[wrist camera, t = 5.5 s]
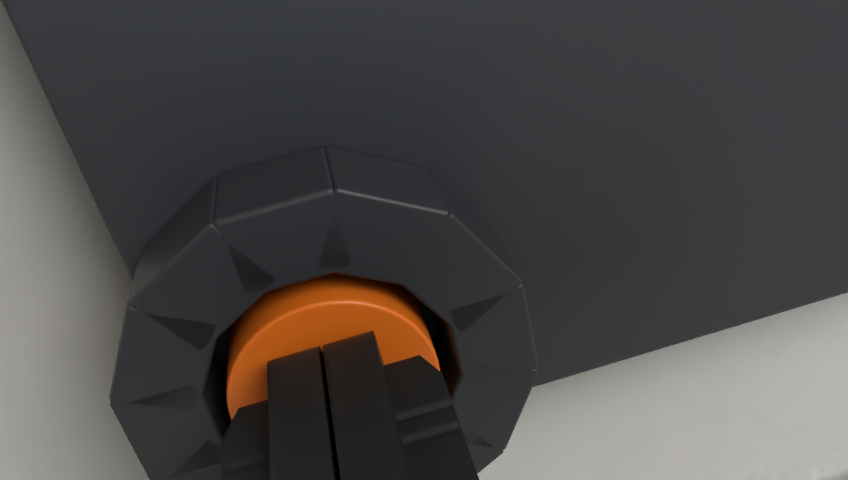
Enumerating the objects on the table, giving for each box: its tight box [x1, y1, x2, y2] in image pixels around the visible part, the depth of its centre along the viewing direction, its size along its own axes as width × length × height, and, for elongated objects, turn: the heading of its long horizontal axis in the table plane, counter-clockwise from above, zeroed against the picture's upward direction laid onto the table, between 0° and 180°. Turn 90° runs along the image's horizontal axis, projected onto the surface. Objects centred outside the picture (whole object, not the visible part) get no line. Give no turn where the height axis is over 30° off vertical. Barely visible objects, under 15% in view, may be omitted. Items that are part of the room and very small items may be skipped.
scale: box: [1, 0, 848, 480], centre depth 11 cm, size 14×12×3 cm
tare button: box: [226, 273, 440, 420], centre depth 12 cm, size 3×3×2 cm
